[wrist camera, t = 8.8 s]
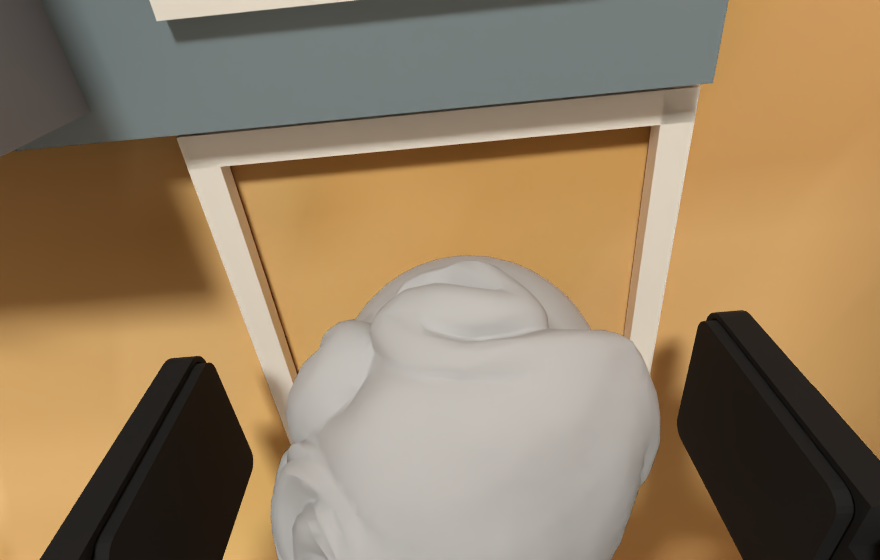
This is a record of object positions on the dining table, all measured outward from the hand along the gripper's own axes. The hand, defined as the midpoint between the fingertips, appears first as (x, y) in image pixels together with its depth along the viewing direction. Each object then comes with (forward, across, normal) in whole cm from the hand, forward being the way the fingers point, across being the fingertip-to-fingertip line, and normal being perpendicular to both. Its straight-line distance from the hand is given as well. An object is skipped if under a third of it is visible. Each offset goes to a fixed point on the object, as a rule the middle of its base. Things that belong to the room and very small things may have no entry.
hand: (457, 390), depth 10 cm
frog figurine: (+2, 0, 0) cm, 2 cm away
